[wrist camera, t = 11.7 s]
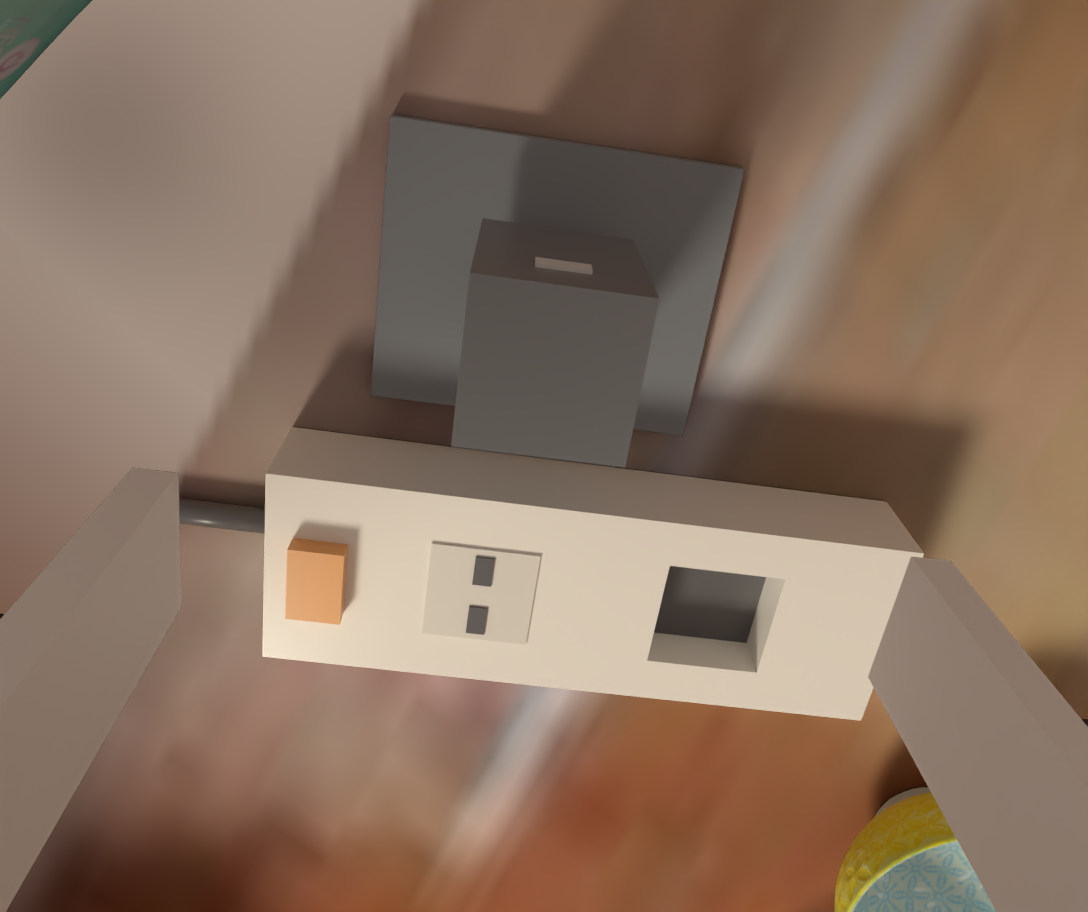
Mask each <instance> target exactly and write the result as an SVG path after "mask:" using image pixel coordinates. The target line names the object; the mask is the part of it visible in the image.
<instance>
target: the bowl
mask: <svg viewBox="0 0 1088 912" xmlns="http://www.w3.org/2000/svg"><path fill="white" fill-rule="evenodd" d="M835 912H996V910H995V908H994V906H993V904H992V903H991V901H990V899H989V897H988V895H987V893H986V892H985V890H984V888H983V886H982V884H981V883H980V881H979V879H978V877H977V875H976V873H975V872H974V870H973V868H972V866H971V864H970V862H969V861H968V859H967V857H966V855H965V853H964V851H963V850H962V848H961V846H960V844H959V842H958V841H957V839H956V837H955V835H954V833H953V831H952V830H951V828H950V826H949V824H948V822H947V820H946V819H945V817H944V815H943V813H942V811H941V809H940V808H939V806H938V804H937V802H936V800H935V799H934V797H933V795H932V793H931V791H930V789H929V788H928V787H921V788H915V789H911V790H908V791H905V792H902V793H900V794H897V795H896V796H894V797H892V798H890V799H889V800H888V801H887V802H886V803H884V804H883V806H882V807H881V808H880V809H879V810H878V812H877V813H876V815H875V817H874V818H873V819H872V820H871V821H870V822H869V823H868V824H867V825H866V826H865V827H864V828H863V829H862V830H861V832H860V833H859V834H858V835H857V837H856V838H855V839H854V841H853V843H852V844H851V846H850V848H849V850H848V851H847V854H846V856H845V858H844V860H843V862H842V865H841V868H840V872H839V875H838V879H837V884H836V891H835Z"/></svg>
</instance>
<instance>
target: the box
mask: <svg viewBox="0 0 1088 912" xmlns="http://www.w3.org/2000/svg"><path fill="white" fill-rule="evenodd" d="M91 1H92V0H0V98H1V97H2V96H3V95H4V94H5V93H6V92H7V91H8V90H9V89H10V88H11V87H12V86H13V84H14V83H15V82H16V81H17V80H18V79H19V78H20V77H21V76H22V75H23V73H24V72H25V71H26V70H27V69H28V68H29V67H30V66H31V65H32V64H33V62H34V61H35V60H36V59H37V58H38V57H39V56H40V55H41V53H43V51H44V50H45V49H46V48H47V47H48V46H49V45H50V44H51V43H52V42H53V41H54V40H55V39H56V37H57V36H58V35H59V34H60V33H61V32H62V31H63V30H64V29H65V28H66V27H67V26H68V25H69V23H70V22H71V21H72V20H73V19H74V18H75V17H76V16H77V15H78V14H79V13H80V12H81V11H82V10H83V9H84V8H85V7H86V6H87V5H88V4H89V3H90V2H91Z"/></svg>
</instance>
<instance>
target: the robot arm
mask: <svg viewBox="0 0 1088 912" xmlns="http://www.w3.org/2000/svg"><path fill="white" fill-rule="evenodd" d="M180 609H181V566H180V519H179V473H175V472H167V471H158V470H149V469H140V468H132V469H131V470H130V471H129V472H128V473H127V475H126V476H125V477H124V478H123V479H122V480H121V481H120V482H119V484H118V485H117V486H116V487H115V488H114V489H113V491H112V492H111V493H110V494H109V495H108V496H107V497H106V499H105V500H104V501H103V502H102V503H101V504H100V506H99V507H98V508H97V509H96V510H95V511H94V512H93V513H92V515H91V516H90V517H89V518H88V519H87V521H85V523H84V524H83V525H82V526H81V527H80V528H79V530H78V531H77V532H76V533H75V534H74V535H73V537H72V538H71V539H70V540H69V541H68V542H67V543H66V544H65V546H64V547H63V548H62V549H61V551H59V553H58V554H57V555H56V556H55V557H54V559H52V560H51V562H50V563H49V564H48V565H47V566H46V568H45V569H44V570H43V571H42V572H41V573H40V574H39V575H38V577H37V578H36V579H35V580H34V581H33V582H32V583H31V585H30V586H29V587H28V588H27V589H26V590H25V591H24V593H23V594H22V595H21V596H20V597H19V598H18V600H17V601H16V602H15V603H14V604H13V605H12V606H11V608H10V609H9V610H8V611H7V612H6V613H5V614H0V912H6V911H7V909H8V907H9V905H10V904H11V902H12V900H13V899H14V897H15V895H16V893H17V892H18V890H19V888H20V886H21V885H22V883H23V881H24V879H25V878H26V876H27V874H28V873H29V871H30V869H31V867H32V866H33V864H34V862H35V860H36V859H37V857H38V855H39V853H40V852H41V850H42V848H43V846H44V845H45V843H46V841H47V840H48V838H49V836H50V834H51V833H52V831H53V829H54V827H55V826H56V824H57V822H58V820H59V819H60V817H61V815H62V813H63V812H64V810H65V808H66V807H67V805H68V803H69V801H70V800H71V798H72V796H73V794H74V793H75V791H76V789H77V787H78V786H79V784H80V782H81V781H82V779H83V777H84V775H85V774H86V772H87V770H88V768H89V767H90V765H91V763H92V761H93V760H94V758H95V756H96V754H97V753H98V751H99V749H100V748H101V746H102V744H103V742H104V741H105V739H106V737H107V735H108V734H109V732H110V730H111V728H112V727H113V725H114V723H115V721H116V720H117V718H118V716H119V715H120V713H121V711H122V709H123V708H124V706H125V704H126V702H127V701H128V699H129V697H130V695H131V694H132V692H133V690H134V689H135V687H136V685H137V683H138V682H139V680H140V678H141V676H142V675H143V673H144V671H145V669H146V668H147V666H148V664H149V662H150V661H151V659H152V657H153V656H154V654H155V652H156V650H157V649H158V647H159V645H160V643H161V642H162V640H163V638H164V636H165V635H166V633H167V631H168V630H169V628H170V626H171V624H172V623H173V621H174V619H175V617H176V616H177V614H178V612H179V610H180ZM868 678H869V680H870V682H871V683H872V685H873V687H874V689H875V691H876V693H877V694H878V696H879V698H880V700H881V702H882V704H883V705H884V707H885V709H886V711H887V713H888V715H889V716H890V718H891V720H892V722H893V724H894V725H895V727H896V729H897V731H898V733H899V735H900V736H901V738H902V740H903V742H904V744H905V746H906V747H907V749H908V751H909V753H910V755H911V757H912V758H913V760H914V762H915V764H916V766H917V767H918V769H919V771H920V773H921V775H922V777H923V778H924V780H925V782H926V784H927V786H928V788H929V789H930V791H931V793H932V795H933V797H934V799H935V800H936V802H937V804H938V806H939V808H940V809H941V811H942V813H943V815H944V817H945V819H946V820H947V822H948V824H949V826H950V828H951V830H952V831H953V833H954V835H955V837H956V839H957V841H958V842H959V844H960V846H961V848H962V850H963V851H964V853H965V855H966V857H967V859H968V861H969V862H970V864H971V866H972V868H973V870H974V872H975V873H976V875H977V877H978V879H979V881H980V883H981V884H982V886H983V888H984V890H985V892H986V893H987V895H988V897H989V899H990V901H991V903H992V904H993V906H994V908H995V910H996V912H1088V720H1087V719H1081V718H1080V717H1079V716H1078V715H1077V713H1076V712H1075V711H1074V710H1073V708H1072V707H1071V706H1070V705H1069V704H1068V702H1067V701H1066V700H1065V699H1064V698H1063V696H1062V695H1061V694H1060V693H1059V691H1058V690H1057V689H1056V688H1055V687H1054V685H1053V684H1052V683H1051V682H1050V681H1049V679H1048V678H1047V677H1046V676H1045V674H1044V673H1043V672H1042V671H1041V670H1040V668H1039V667H1038V666H1037V665H1036V664H1035V662H1034V661H1033V660H1032V659H1031V657H1030V656H1029V655H1028V654H1027V653H1026V651H1025V650H1024V649H1023V648H1022V647H1021V645H1020V644H1019V643H1018V642H1017V640H1016V639H1015V638H1014V637H1013V636H1012V634H1011V633H1010V632H1009V631H1008V630H1007V628H1006V627H1005V626H1004V625H1003V623H1002V622H1001V621H1000V620H999V619H998V617H997V616H996V615H995V614H994V613H993V611H992V610H991V609H990V608H989V606H988V605H987V604H986V603H985V602H984V600H983V599H982V598H981V597H980V596H979V594H978V593H977V592H976V591H975V590H974V588H973V587H972V586H971V585H970V583H969V582H968V581H967V580H966V579H965V577H964V576H963V575H962V574H961V573H960V571H959V570H958V569H957V568H956V566H955V565H954V564H953V563H952V562H951V561H948V560H939V559H930V558H921V557H913V556H911V558H910V561H909V564H908V567H907V569H906V572H905V575H904V578H903V581H902V583H901V586H900V589H899V592H898V594H897V597H896V600H895V603H894V606H893V608H892V611H891V614H890V617H889V620H888V622H887V625H886V628H885V631H884V633H883V636H882V639H881V642H880V645H879V647H878V650H877V653H876V656H875V659H874V661H873V664H872V667H871V670H870V672H869V675H868Z"/></svg>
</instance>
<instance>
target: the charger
mask: <svg viewBox="0 0 1088 912" xmlns="http://www.w3.org/2000/svg"><path fill="white" fill-rule="evenodd" d="M659 299H660V298H659V296H658V294H657V292H656V290H655V287H654V285H653V283H652V281H651V278H650V276H649V274H648V272H647V269H646V267H645V265H644V263H643V261H642V258H641V256H640V254H639V252H638V249H637V247H636V245H635V243H634V241H633V239H626V238H619V237H612V236H605V235H598V234H591V233H584V232H577V231H570V230H563V229H556V228H549V227H542V226H534V225H527V224H520V223H513V222H506V221H499V220H492V219H485V218H483V219H482V223H481V227H480V232H479V236H478V240H477V244H476V249H475V253H474V257H473V261H472V266H471V270H470V276H469V285H468V294H467V303H466V313H465V322H464V331H463V340H462V349H461V358H460V367H459V377H458V386H457V395H456V404H455V413H454V422H453V431H452V441H451V446H452V447H461V448H469V449H477V450H485V451H493V452H501V453H509V454H518V455H526V456H534V457H542V458H550V459H558V460H566V461H575V462H583V463H591V464H599V465H607V466H615V467H623V468H626V463H627V458H628V453H629V448H630V443H631V438H632V433H633V428H634V423H635V418H636V413H637V408H638V403H639V398H640V393H641V388H642V383H643V378H644V373H645V369H646V364H647V359H648V354H649V349H650V344H651V339H652V334H653V329H654V324H655V319H656V314H657V309H658V304H659Z"/></svg>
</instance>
